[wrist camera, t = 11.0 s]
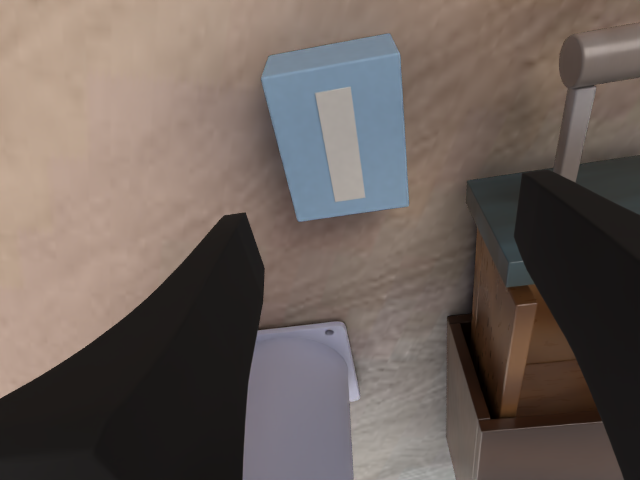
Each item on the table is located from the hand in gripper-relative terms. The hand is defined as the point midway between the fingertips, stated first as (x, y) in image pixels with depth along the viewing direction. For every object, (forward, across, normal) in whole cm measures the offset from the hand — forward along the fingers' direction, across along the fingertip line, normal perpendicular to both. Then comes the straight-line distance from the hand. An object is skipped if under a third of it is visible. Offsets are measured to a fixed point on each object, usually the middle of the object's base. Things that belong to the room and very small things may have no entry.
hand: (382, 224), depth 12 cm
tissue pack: (+8, +1, 0) cm, 8 cm away
